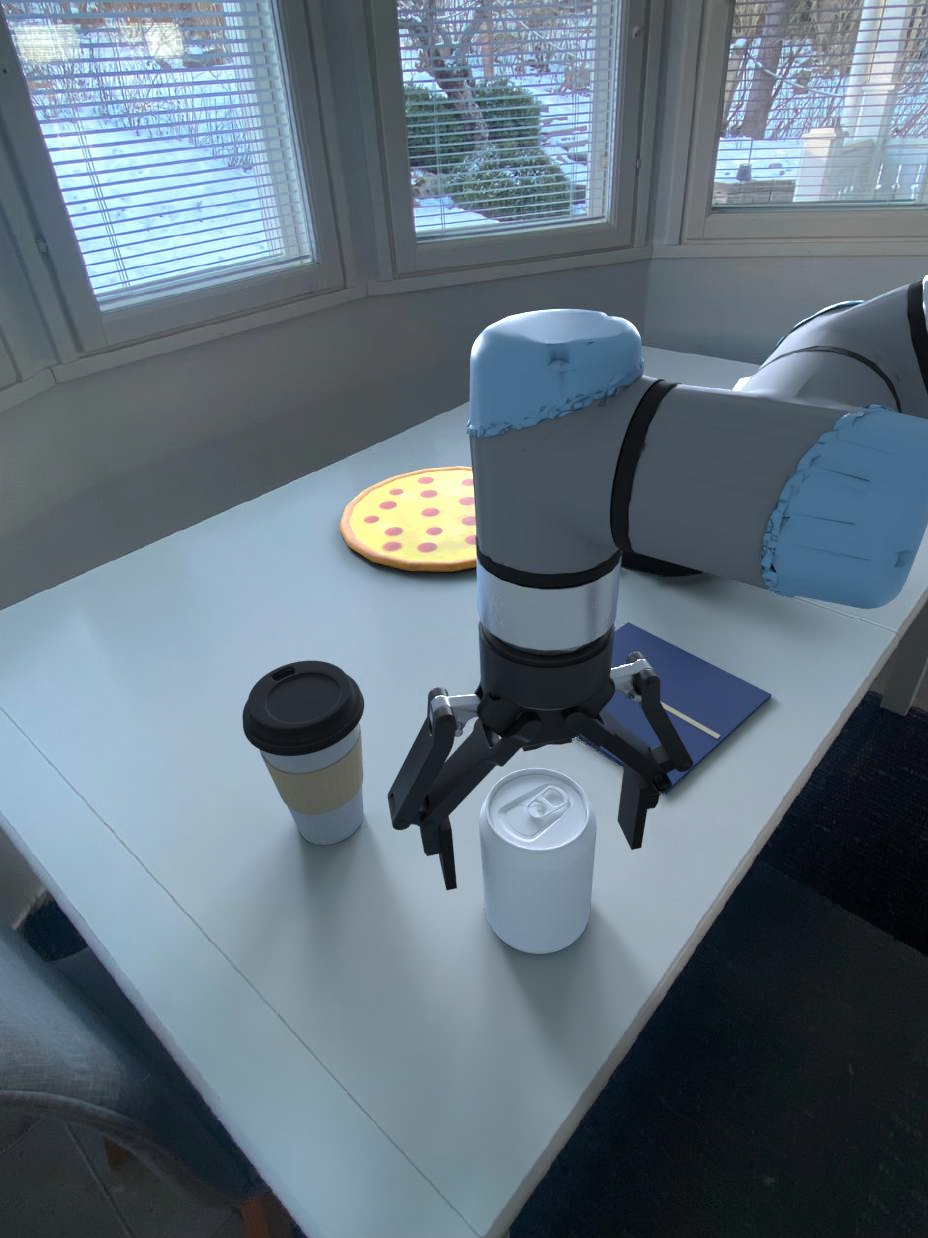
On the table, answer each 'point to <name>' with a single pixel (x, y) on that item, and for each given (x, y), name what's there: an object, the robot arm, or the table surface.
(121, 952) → the table surface
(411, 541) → the pizza
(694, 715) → the napkin
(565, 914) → the beverage can
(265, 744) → the coffee cup
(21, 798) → the table surface
